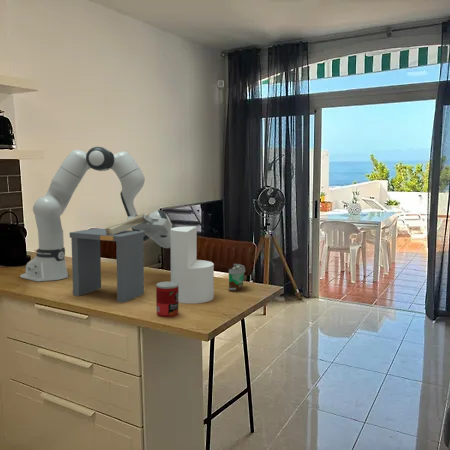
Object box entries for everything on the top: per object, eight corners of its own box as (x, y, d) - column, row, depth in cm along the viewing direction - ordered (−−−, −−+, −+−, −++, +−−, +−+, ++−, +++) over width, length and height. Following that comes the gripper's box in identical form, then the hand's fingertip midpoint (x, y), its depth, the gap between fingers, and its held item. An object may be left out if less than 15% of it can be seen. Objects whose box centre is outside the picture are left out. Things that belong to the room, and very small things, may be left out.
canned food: (172, 318, 156) (172, 287, 155) (152, 315, 159) (151, 285, 158) (182, 312, 163) (182, 282, 162) (163, 309, 166) (162, 280, 165)
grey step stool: (70, 295, 183) (68, 232, 180) (97, 286, 198) (95, 228, 195) (121, 303, 173) (120, 236, 170) (145, 293, 188) (144, 231, 185)
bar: (106, 234, 175) (105, 228, 175) (143, 219, 198) (142, 213, 198) (112, 235, 174) (112, 228, 173) (149, 219, 197) (148, 214, 196)
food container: (242, 293, 190) (243, 270, 189) (228, 292, 191) (228, 269, 190) (247, 286, 202) (247, 264, 201) (233, 285, 203) (233, 263, 202)
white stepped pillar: (165, 302, 176) (165, 231, 172) (176, 290, 193) (176, 225, 189) (209, 304, 173) (210, 232, 170) (216, 292, 190) (217, 226, 187)
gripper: (137, 221, 210) (121, 208, 198) (175, 224, 202) (161, 210, 190) (133, 234, 207) (117, 221, 196) (172, 237, 199) (157, 224, 188)
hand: (139, 216), depth 193 cm, fingers closed on bar, 3 cm apart
